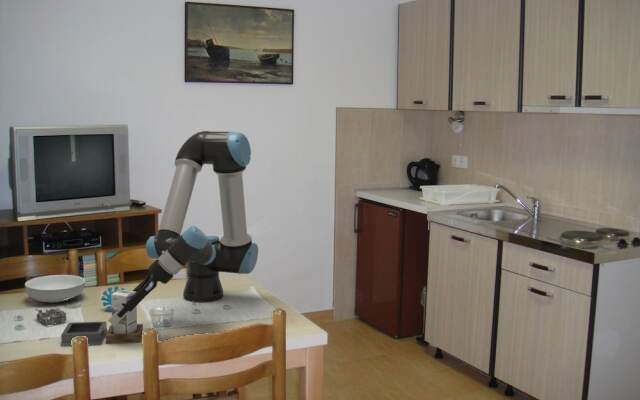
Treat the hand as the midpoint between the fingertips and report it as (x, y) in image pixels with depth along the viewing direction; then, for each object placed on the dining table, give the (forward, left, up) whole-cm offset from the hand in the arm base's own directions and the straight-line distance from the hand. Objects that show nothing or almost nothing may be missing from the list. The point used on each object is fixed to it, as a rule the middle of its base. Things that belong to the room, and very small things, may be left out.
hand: (113, 318), depth 206 cm
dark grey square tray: (+9, 0, -6) cm, 10 cm away
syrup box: (-3, 0, -6) cm, 7 cm away
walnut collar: (-3, 0, -6) cm, 7 cm away
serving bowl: (+27, -45, -6) cm, 53 cm away
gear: (+3, -31, -6) cm, 31 cm away
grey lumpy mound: (+22, -19, -7) cm, 30 cm away
